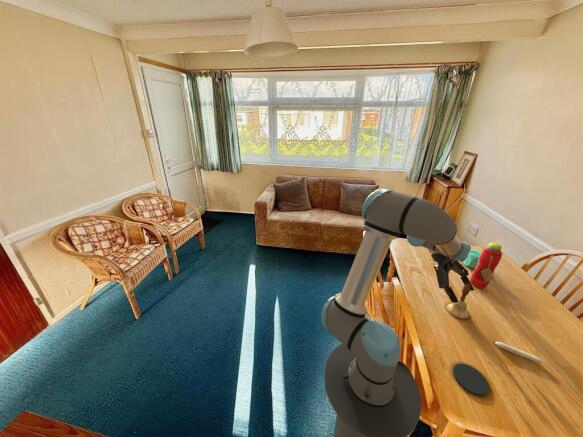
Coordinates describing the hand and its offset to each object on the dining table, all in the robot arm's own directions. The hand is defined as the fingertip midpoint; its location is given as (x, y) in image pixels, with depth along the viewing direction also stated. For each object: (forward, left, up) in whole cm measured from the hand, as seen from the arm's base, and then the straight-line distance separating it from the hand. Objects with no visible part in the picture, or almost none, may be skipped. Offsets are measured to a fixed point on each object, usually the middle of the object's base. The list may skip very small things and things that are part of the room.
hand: (463, 296), depth 100 cm
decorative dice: (+37, +21, -5) cm, 43 cm away
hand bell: (0, 0, -9) cm, 9 cm away
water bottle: (+25, +10, -9) cm, 28 cm away
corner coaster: (-22, -24, -9) cm, 34 cm away
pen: (+4, -22, -9) cm, 24 cm away
